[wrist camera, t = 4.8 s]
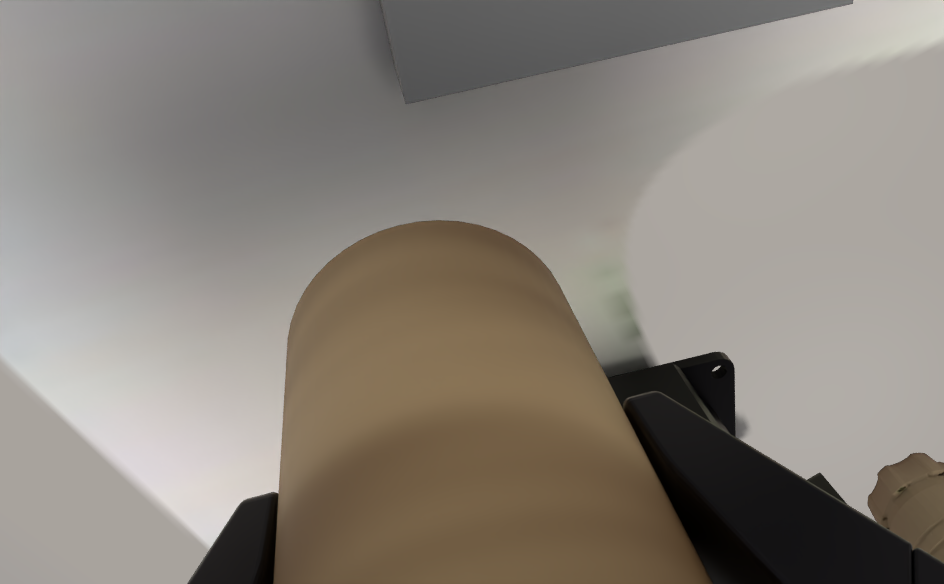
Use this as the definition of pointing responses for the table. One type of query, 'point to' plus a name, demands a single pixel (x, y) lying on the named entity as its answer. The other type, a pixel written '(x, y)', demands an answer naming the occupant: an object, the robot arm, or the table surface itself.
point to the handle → (912, 502)
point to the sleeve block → (550, 34)
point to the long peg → (459, 428)
